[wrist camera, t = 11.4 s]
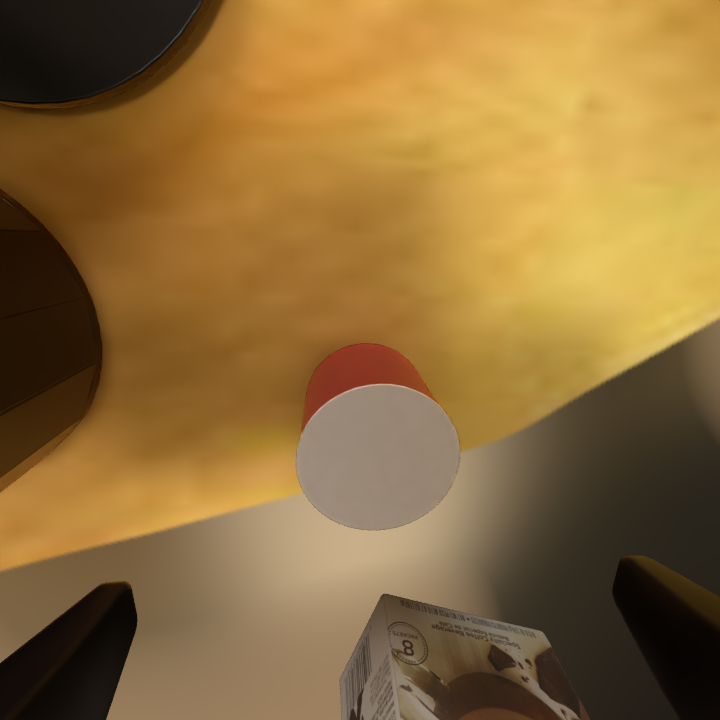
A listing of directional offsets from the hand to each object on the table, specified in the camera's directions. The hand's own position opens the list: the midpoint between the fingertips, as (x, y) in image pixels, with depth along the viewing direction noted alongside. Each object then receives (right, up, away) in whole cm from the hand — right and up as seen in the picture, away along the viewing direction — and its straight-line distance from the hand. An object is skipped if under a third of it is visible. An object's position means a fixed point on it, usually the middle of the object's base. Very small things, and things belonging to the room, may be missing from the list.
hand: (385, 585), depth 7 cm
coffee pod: (0, +3, +8) cm, 9 cm away
